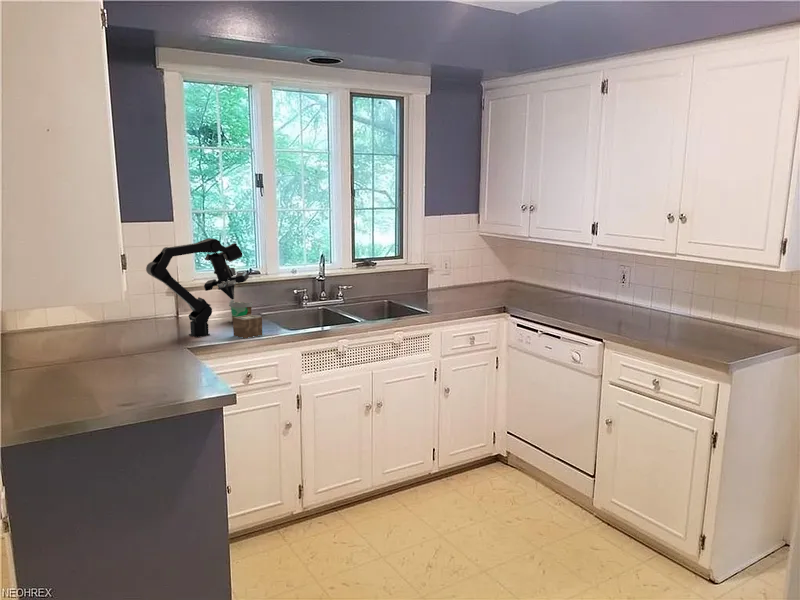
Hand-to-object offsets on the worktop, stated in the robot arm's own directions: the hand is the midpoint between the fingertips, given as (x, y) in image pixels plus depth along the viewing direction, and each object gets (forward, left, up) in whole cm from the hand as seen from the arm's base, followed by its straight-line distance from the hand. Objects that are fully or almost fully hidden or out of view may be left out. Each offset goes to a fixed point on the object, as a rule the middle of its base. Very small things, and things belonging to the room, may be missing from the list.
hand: (233, 299), depth 269 cm
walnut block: (-1, -12, -14) cm, 19 cm away
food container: (+12, +13, -15) cm, 23 cm away
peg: (-1, -12, -14) cm, 18 cm away
